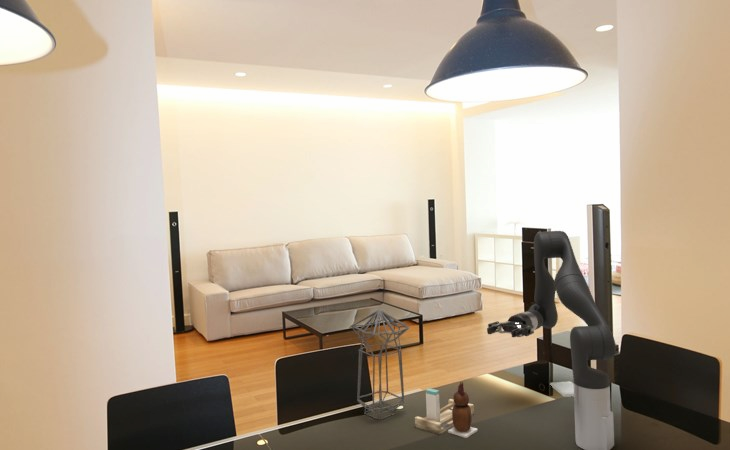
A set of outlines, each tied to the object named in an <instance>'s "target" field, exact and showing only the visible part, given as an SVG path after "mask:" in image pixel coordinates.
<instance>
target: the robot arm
mask: <svg viewBox="0 0 730 450" xmlns="http://www.w3.org/2000/svg"><path fill="white" fill-rule="evenodd" d="M557 258H558V259H561V261H562V262H561V265H560V267H559V269H558V270H557V273H556V274H555V278H553V277H554V276H552V274H551V272H550V271H549V270H548V268H547V267H546V263H545V259H557ZM533 259H534V272H535V273H534V274H535V285H534V287H535V288H534V296H533V297H534V299H533V300H534V304H532V305H531V306H530V307H529V308H528V310H527V311H522V312H519V313H516V314H514V315H511V316H509V318H508V320H507V321H504V322H499V321H497V320H496V321H493V322H490V323H488V324H487V329H486V331H487V332H486V333H487V335H492V334H496V333H499V334H511V338H516V337H517V338H521V337H524V336H525V337H528V336H530V335H533V334H534V332H535V331H536V330H539V329H540V328H542V327H543V328H545V329H547V330H548V329H552V328H554V327H555V326H556V325H557V323H558V320H559V319H558V318H559V315H558V314H559V313H558V310H557V305H556V301H555V299H556V294H557V296H558V300H559V301H560V302H561V304H562V306H564V307H565V308H566V309H568V310H569V311H570V312H571V313H573V314H574V315H575V316H577V317H578V318H580V319H581V320H582V321H583V322H584V323H585V324H586V325H584V326H583V325H581V326H579V325H578V326H574V327H572V328H571V331H570V334H569V345H570V353H571V369H572V377H573V383H574V396H573V401H574V402H573V405H574V428H575V429H574V430H575V431H574V432H575V434H574V435H575V443H576V446H577V447H579V448H580V449H583V450H611V449H613V447H614V446H615V427H614V423H615V422H614V411H612V410H611V390H610V389H611V388H610V377H609V375H608V373H606V372H604V371H603V370H600V369H597V368H593V367H591V366H589V362H588V361H599V360H600V361H602V360H603V361H604V360H610V359H612V358H614V357H615V356H616V351H617V345H616V340H615V337H614V336H613V333H612V331H611V329H610V327H609V325H608V323H607V321H606V319H605V318H604V316H603V314H602V313H601V311H600V309H599V308H598V306H597V303H596V302H595V299H594V297H593V295H592V293H591V290H590V287H589V285H588V283H587V281H586V279H585V277H584V275H583V272H582V271H581V268H580V266H579V263H578V261H577V259H576V256H575V252H574V250H573V247H572V244H571V241H570V238H569V236H568V235H567V233H566V231H564V230H551V231H550V230H549V231H548V230H547V231H539V232H537V233H536V234H535V236H534V239H533Z"/></svg>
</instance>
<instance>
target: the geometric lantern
mask: <svg viewBox="0 0 730 450" xmlns="http://www.w3.org/2000/svg"><path fill="white" fill-rule="evenodd" d="M367 319H368V320H367ZM366 320H367V321H366ZM364 321H366V322H365V323H364V324H360V323H361V322H364ZM381 323H382V324H383V329H384V331H383V332H380V328H381V327H380V326H381V325H380V324H381ZM398 324H399V325H398ZM386 325H387V326H388V328H389V329H390V331H391V332H388V330H387V326H386ZM373 326H374V328H373ZM359 327H360V328H359ZM348 328H351V329H352V330H353V331H354V332H355V334H356V335H357V336H358V340H359V341H360V340H361V341H360V348H359V349H358V350H357V351H358V365H357V366H358V371H357V394H356V395H357V396H356V398H357V399H356V400H357V402H358V404H360V405H361V407H363V408H364V411H363V412H364V415H365V414H366V416H367V417H370V416H371V417H370V418H372V417H373V419H375V420H377V419H378V420H377V421H379V420H380V419H381V420H384V419H386V418H389V417H391V415H392V416H394V415H396V414H397V409H398V408H399V407H401V406H402V405H404V404H405V392H404V374H403V373H404V372H403V356H402V348H401V342H400V338H401V336H402V335H403V334H404V333H406V332H407V331H408V330H409V329H410V326H409V325H407V324H406V323H404V322H402V321H400V320H398V319H397V318H395V317H393V316H392V315H390V314H389V313H387V312H385V311H384V310H381V309H380V310H375V311H374V312H372V313H370V314H369V315H367V316H365V317H363V318H362V319H360V320H358V321H356V322H354V323H353V324H350V325H349V327H348ZM368 328H370V331H368ZM377 328H378V330H377ZM396 328H398V330H397V331H395V329H396ZM401 328H402V329H401ZM357 330H358V331H357ZM376 331H378V332H377V333H376ZM360 332H361V333H362V336H361V335H360ZM366 335H369V336H368V337H366V338H365V336H366ZM384 335H386V337H385V336H384ZM392 335H393V337H394V338H392V339H391V337H392ZM373 336H375V337H376V338H377V340H378V341H379V342H380V343H377V344H373V345H369V343H368V340H369V339H370V338H372V337H373ZM378 336H380V337H381V338H382V339H384V340H385V341H386V342H385V343H383V342H382V341H381V339H379V337H378ZM397 339H398V343H397ZM364 342H365V344H366V346H363V343H364ZM391 342H394V343H395V347H394V346H391V345H390V344H388V343H391ZM398 345H399V346H398ZM376 346H379V347H380V349H379V350H380V351H379V353H378V354H374V352H373V351H372V348H371V347H376ZM387 347H389V348H391V349H395V350H397V351H393V352H389V353H388V348H387ZM367 348H368V350H369V351H370V352H369V353H368V352H367V351H364V350H363V349H367ZM384 349H385V351H384ZM383 351H384V352H385V353H384V354H383ZM363 353H364V354H367V355H368V356H371V357H372V392H371V393H368V394H367V393H366V394H364V395H363V394H362V395H361V383H362V380H361V379H362V369H363V368H362V365H363ZM392 354H393V355H394V354H397V356H398V365H399V366H398V367H399V377H400V378H399V381H400V388H401V389H400V390H401V396H398V395H397V394H395V393H392V392H390V391H389V376H388V375H389V373H388V372H389V371H388V355H392ZM384 356H385V376H386V377H385V380H386V381H385V382H386V383H385V384H386V390H382V363H383V362H382V357H384ZM376 357H377V358H378V360H377V361H378V377H379V378H378V381H379V382H378V383H379V385H378V386H379V387H378V391H375V378H376V377H375V367H376V364H375V363H376V361H375V360H376V359H375V358H376ZM383 393H385V394H384V396H383V395H382V394H383ZM375 394H378V401H375ZM387 394H388V395H391V396H393V397H396V398H398V399H400V401H399V402H398V403H395V404H391V403H389V402H386V401H384V400H385V399H386V396H387ZM371 395H372V403H370V404H367V403H365V402H364V401H362V400H361V399H362V398H365V397H368V396H371ZM377 403H378V406H377V407H375V404H377ZM384 404H386V405H388V406H384ZM393 407H394V408H393ZM383 410H385V411H383ZM378 411H380V412H378ZM370 412H372V413H375V414H377V417H375V416H373V415H370V414H369V413H370ZM387 412H392V413H391V414H389V415H386V416H384V417H383V414H385V413H387Z"/></svg>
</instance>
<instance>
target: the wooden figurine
mask: <svg viewBox="0 0 730 450" xmlns="http://www.w3.org/2000/svg"><path fill="white" fill-rule="evenodd" d="M452 399H453V400H454V403H455V405H454V407H453V410H452V419H453V424H454V426H453V427H455V429H456V430H458V431H461V432H465V431H468V430H469V429H470V427H472V417H473V414H471V409H470V407H469V405H468V403H469V402H470V397H469V395H468V393H467V392H466V391H465V389H464V382H463V381H462V382H461V381H460V383H459V385H458V386H457V391H456V392H455V393H453V398H452ZM469 404H470V403H469Z"/></svg>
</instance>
